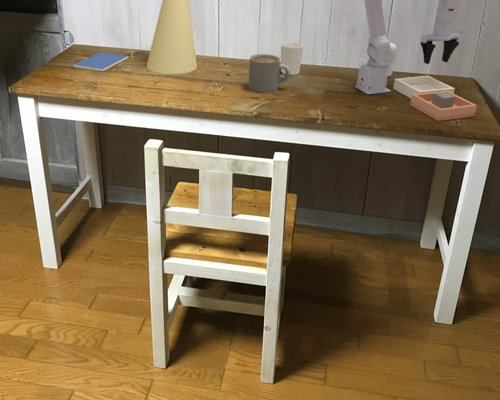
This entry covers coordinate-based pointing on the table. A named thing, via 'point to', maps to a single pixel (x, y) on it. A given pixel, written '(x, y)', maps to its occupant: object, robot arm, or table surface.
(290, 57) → the white cup
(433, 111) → the bin
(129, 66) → the table surface
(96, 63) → the blue notebook
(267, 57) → the coffee mug
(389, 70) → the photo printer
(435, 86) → the tub
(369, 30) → the robot arm
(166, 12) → the cone light
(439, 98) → the gray cube
